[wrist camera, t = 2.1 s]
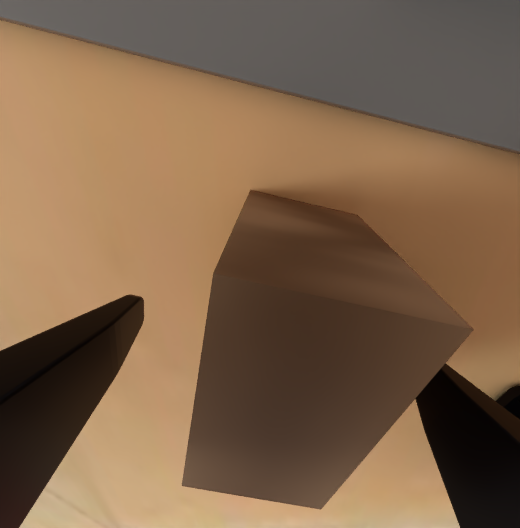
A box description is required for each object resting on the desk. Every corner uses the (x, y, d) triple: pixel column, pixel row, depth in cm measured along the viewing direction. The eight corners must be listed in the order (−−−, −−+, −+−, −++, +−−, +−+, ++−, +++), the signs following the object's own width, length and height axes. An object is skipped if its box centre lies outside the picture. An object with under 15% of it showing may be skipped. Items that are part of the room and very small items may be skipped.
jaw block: (357, 214, 9) (474, 329, 4) (301, 347, 12) (321, 509, 7) (250, 189, 9) (213, 273, 3) (222, 331, 12) (181, 486, 7)
